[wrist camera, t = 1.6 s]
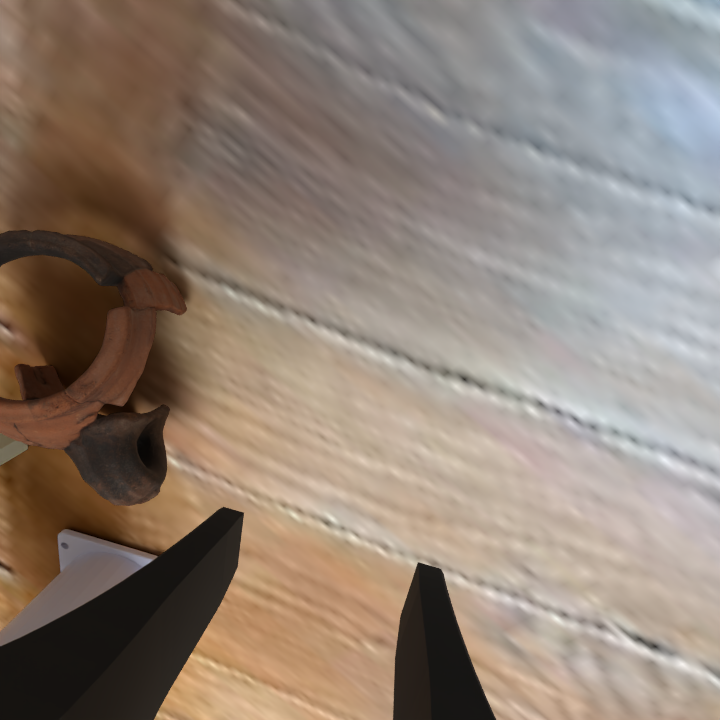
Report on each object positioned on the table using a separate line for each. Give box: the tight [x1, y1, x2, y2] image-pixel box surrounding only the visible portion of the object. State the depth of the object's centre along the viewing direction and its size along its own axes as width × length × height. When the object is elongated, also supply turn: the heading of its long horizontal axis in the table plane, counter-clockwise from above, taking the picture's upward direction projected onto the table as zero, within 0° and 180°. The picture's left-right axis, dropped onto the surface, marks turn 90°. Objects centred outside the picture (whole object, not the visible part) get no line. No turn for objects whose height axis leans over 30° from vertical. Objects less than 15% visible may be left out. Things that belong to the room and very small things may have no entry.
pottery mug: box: [0, 230, 187, 506], centre depth 19 cm, size 12×10×8 cm
